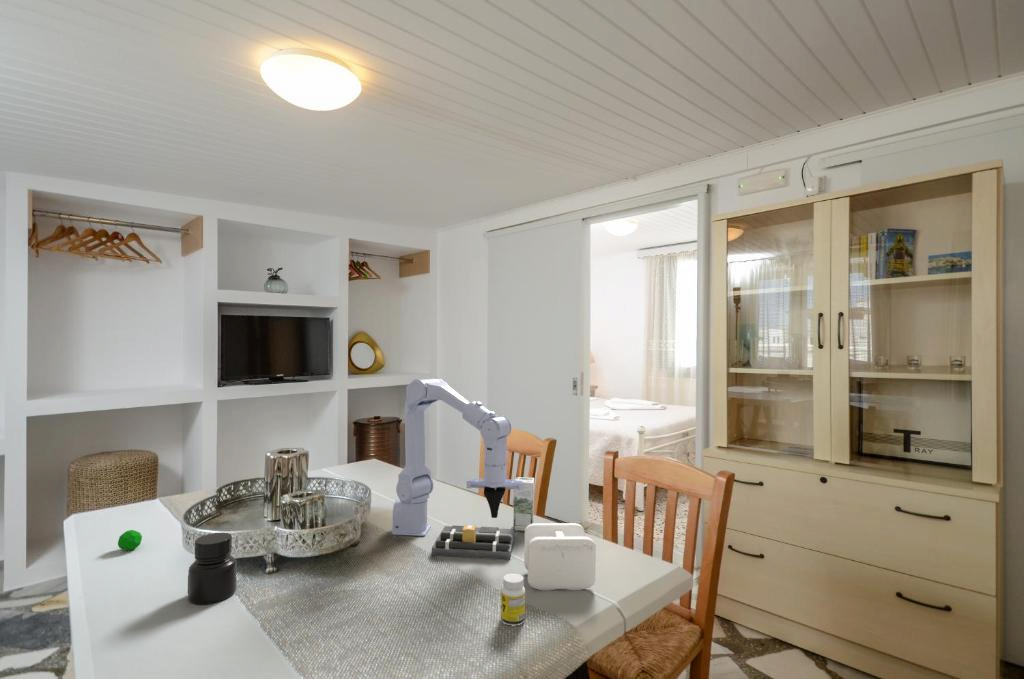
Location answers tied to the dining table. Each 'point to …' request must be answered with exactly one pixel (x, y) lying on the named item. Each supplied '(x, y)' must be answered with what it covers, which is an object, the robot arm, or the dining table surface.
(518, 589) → the supplement bottle
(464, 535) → the block
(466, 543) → the cable bundles
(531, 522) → the syrup box
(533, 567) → the cable organizer
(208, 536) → the ink bottle
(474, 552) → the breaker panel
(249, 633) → the dining table surface
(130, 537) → the polyhedron
